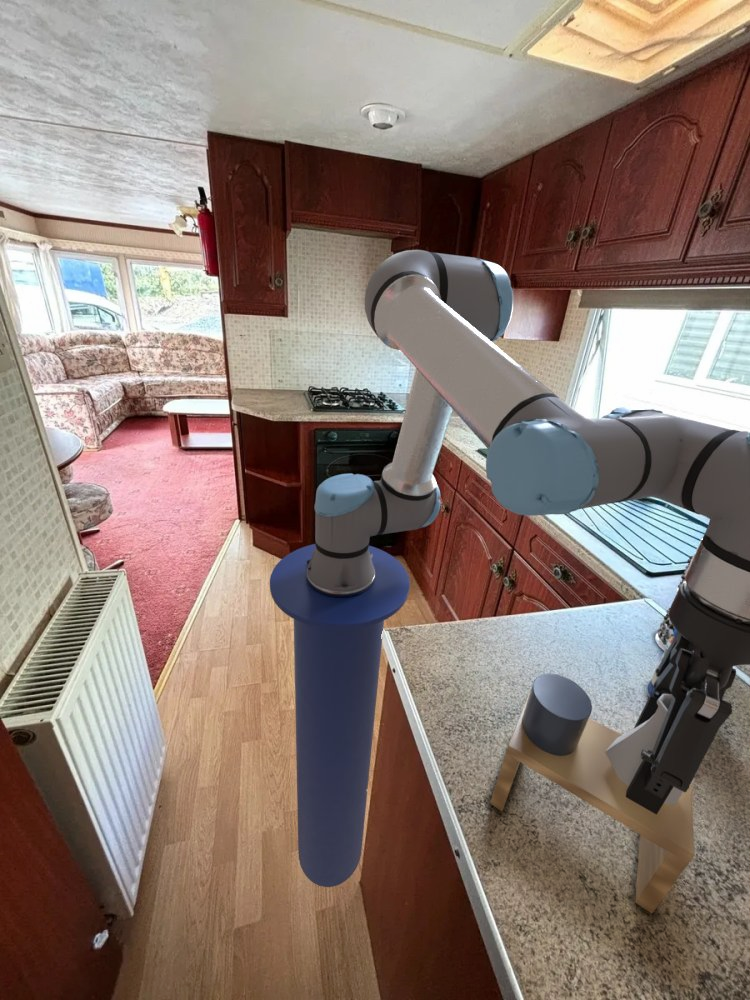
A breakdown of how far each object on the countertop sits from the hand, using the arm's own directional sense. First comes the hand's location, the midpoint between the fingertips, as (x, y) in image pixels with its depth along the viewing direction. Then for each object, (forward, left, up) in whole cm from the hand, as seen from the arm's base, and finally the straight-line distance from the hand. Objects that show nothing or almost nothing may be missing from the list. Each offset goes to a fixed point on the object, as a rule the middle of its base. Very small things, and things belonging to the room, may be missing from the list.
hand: (643, 768), depth 44 cm
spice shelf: (-4, 0, -13) cm, 14 cm away
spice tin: (-9, 0, -2) cm, 10 cm away
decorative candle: (+8, +46, -13) cm, 49 cm away
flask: (0, 0, 0) cm, 0 cm away
